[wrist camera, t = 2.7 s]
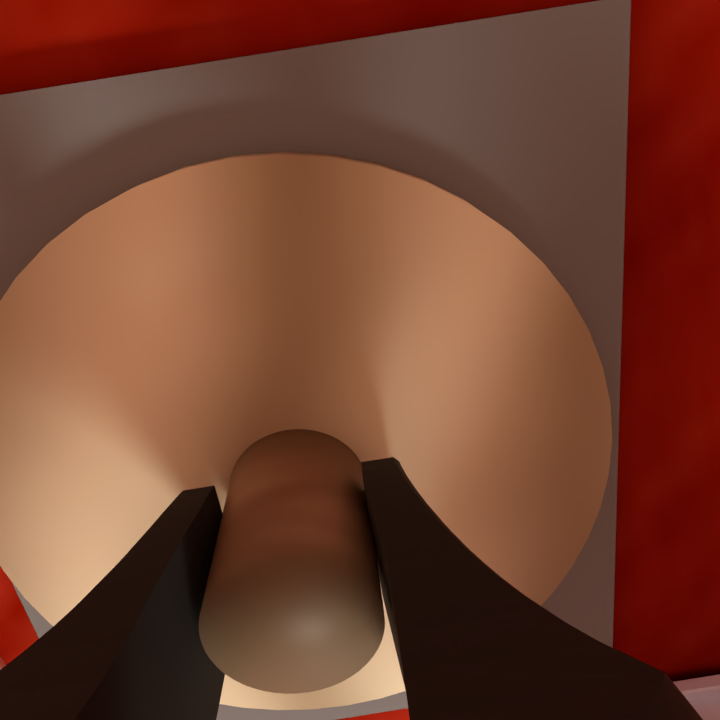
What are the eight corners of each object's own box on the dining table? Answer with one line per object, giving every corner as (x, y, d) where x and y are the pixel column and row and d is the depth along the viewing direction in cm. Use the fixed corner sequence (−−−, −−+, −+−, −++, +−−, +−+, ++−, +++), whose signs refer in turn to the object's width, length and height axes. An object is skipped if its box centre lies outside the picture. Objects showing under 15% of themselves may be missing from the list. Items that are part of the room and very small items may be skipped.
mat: (617, -1, 11) (631, -5, 10) (604, 659, 17) (612, 675, 17) (-185, 126, 11) (-208, 128, 10) (102, 740, 17) (96, 757, 17)
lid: (599, 98, 11) (769, 99, 7) (593, 637, 16) (687, 821, 12) (-136, 213, 11) (-409, 285, 7) (96, 716, 16) (22, 928, 12)
